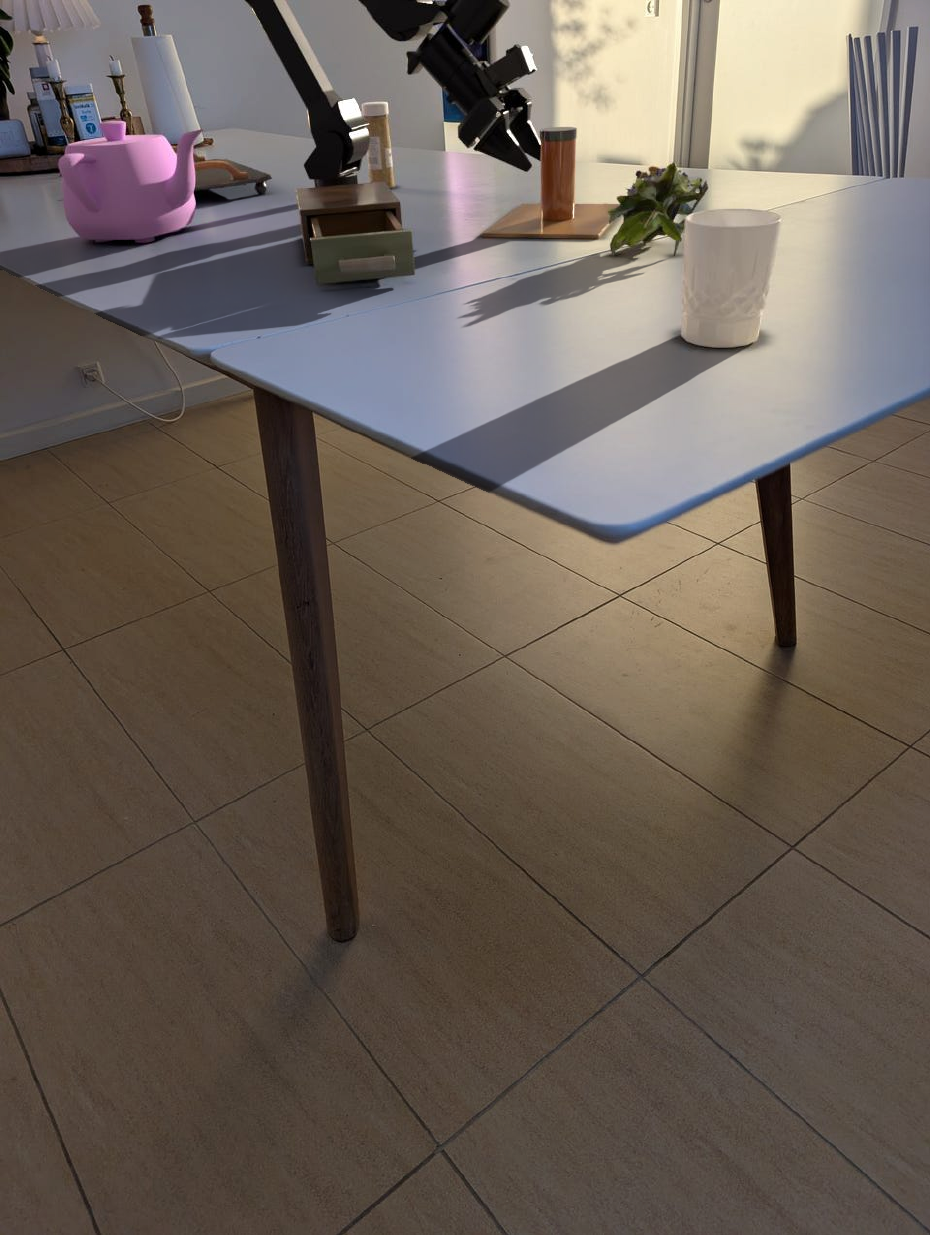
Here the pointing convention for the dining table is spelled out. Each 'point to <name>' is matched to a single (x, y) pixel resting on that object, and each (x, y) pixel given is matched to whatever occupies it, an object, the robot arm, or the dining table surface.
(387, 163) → the sprinkles bottle
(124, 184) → the teapot
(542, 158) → the spice bottle
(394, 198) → the cabinet
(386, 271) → the drawer
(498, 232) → the wooden cutting board
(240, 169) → the serving tray
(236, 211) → the dining table surface
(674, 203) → the green leafy plant
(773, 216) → the white cup
